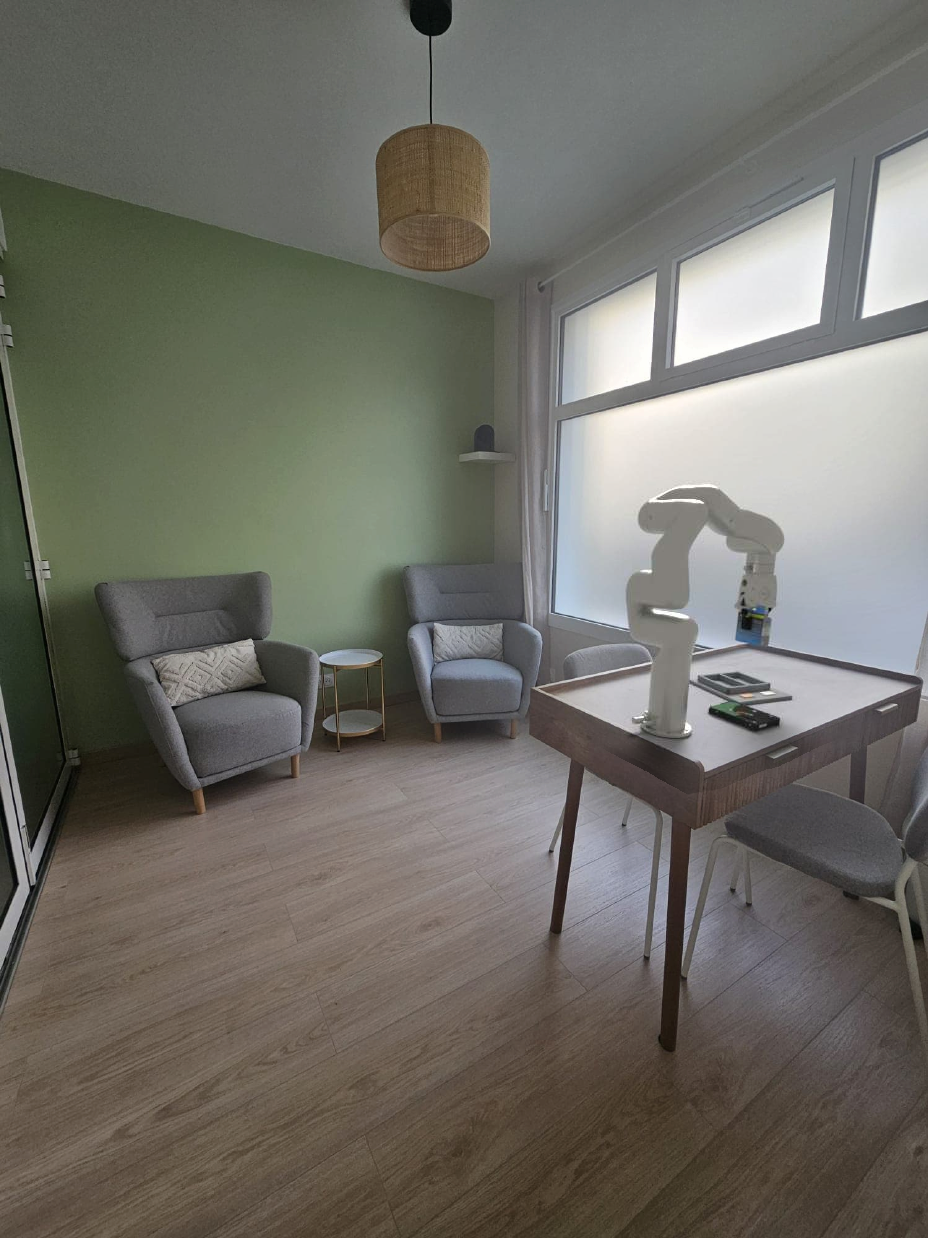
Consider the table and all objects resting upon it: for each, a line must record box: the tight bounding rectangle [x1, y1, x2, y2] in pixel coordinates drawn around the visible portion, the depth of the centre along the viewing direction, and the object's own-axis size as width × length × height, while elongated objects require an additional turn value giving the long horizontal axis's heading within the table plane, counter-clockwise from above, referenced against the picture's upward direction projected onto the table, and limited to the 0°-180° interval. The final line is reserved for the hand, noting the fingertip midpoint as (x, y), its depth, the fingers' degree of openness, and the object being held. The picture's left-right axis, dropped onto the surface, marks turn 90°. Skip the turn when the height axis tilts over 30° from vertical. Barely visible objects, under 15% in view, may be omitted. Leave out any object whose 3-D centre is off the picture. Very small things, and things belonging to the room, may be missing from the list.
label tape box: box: [734, 605, 772, 648], centre depth 154 cm, size 9×4×12 cm, turn 23°
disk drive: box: [707, 700, 781, 733], centre depth 142 cm, size 10×3×15 cm
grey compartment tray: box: [689, 670, 793, 706], centre depth 165 cm, size 20×22×3 cm
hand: (752, 628), depth 154 cm, fingers closed on label tape box, 4 cm apart
